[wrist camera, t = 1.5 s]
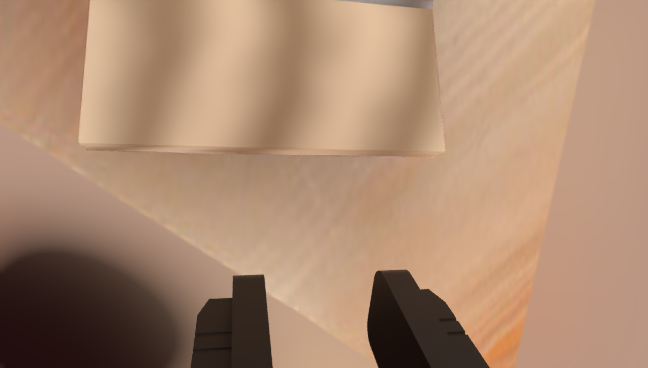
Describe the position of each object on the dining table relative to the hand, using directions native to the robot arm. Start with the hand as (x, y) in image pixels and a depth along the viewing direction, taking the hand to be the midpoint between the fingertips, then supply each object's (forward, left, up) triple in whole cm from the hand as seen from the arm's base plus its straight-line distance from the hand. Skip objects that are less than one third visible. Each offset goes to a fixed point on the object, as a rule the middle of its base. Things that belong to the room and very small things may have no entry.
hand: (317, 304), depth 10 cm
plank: (0, +3, -15) cm, 15 cm away
